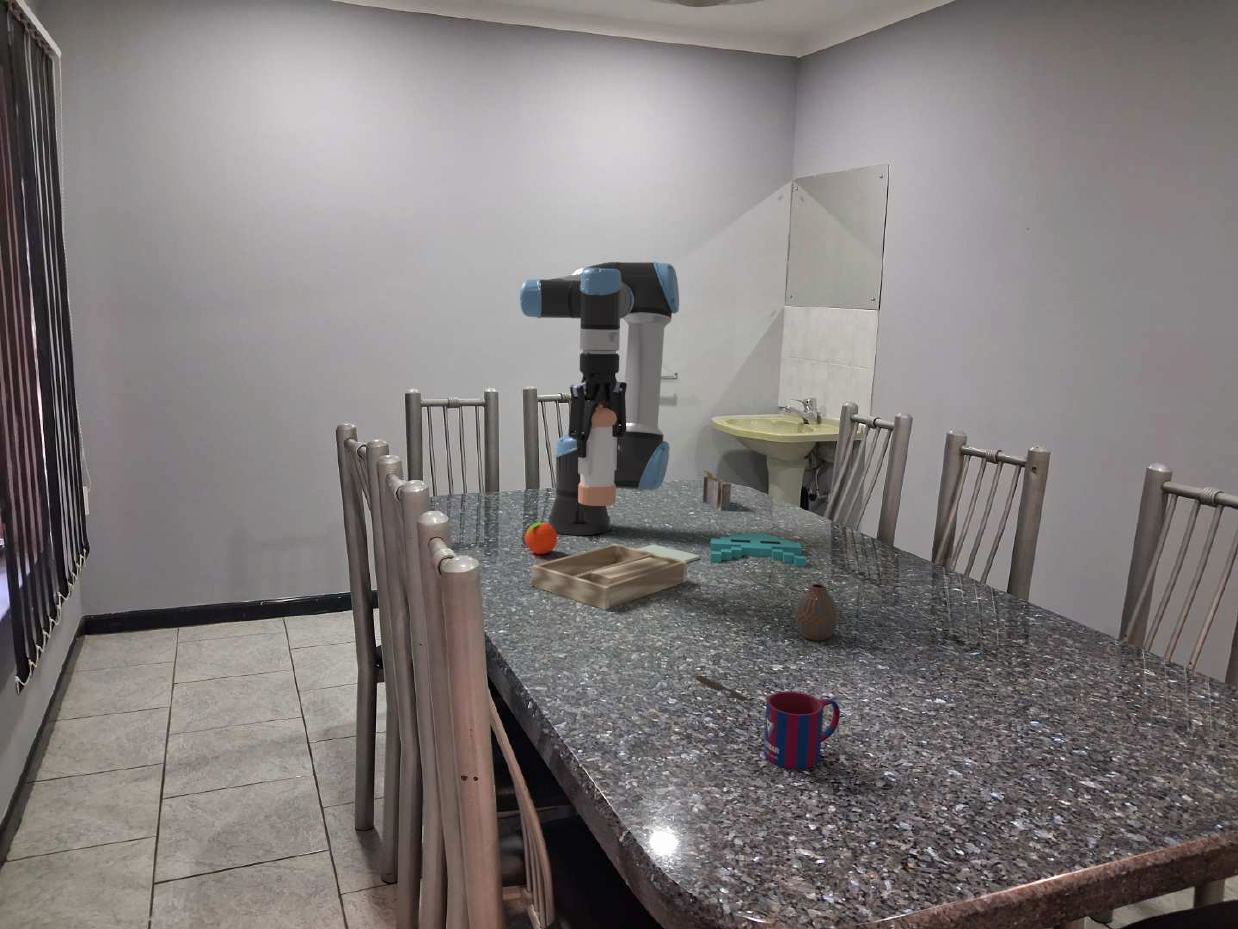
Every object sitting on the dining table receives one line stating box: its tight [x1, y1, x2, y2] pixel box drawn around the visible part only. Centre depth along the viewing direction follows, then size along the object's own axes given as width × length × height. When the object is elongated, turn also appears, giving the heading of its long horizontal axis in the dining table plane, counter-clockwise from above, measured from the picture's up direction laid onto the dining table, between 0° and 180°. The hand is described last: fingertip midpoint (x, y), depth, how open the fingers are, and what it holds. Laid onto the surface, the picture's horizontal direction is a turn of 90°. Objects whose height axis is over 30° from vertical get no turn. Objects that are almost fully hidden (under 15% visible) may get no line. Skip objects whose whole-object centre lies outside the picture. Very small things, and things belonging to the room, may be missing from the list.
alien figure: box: [710, 532, 807, 568], centre depth 201 cm, size 20×2×20 cm
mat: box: [637, 544, 701, 563], centre depth 194 cm, size 13×13×1 cm
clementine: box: [524, 521, 558, 555], centre depth 194 cm, size 8×7×7 cm
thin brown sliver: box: [695, 675, 750, 702], centre depth 128 cm, size 12×3×1 cm, turn 35°
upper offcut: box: [591, 557, 669, 586], centre depth 171 cm, size 5×16×2 cm, turn 135°
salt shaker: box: [578, 404, 617, 507], centre depth 173 cm, size 7×7×19 cm
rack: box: [530, 543, 688, 611], centre depth 175 cm, size 19×24×4 cm
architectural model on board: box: [702, 469, 732, 511], centre depth 246 cm, size 11×3×10 cm, turn 20°
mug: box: [763, 691, 841, 770], centre depth 109 cm, size 7×10×7 cm
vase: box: [794, 583, 839, 641], centre depth 149 cm, size 7×7×9 cm
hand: (597, 471), depth 174 cm, fingers closed on salt shaker, 7 cm apart
